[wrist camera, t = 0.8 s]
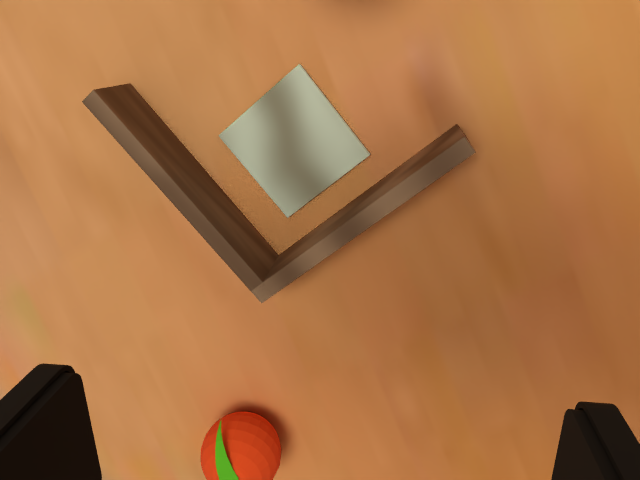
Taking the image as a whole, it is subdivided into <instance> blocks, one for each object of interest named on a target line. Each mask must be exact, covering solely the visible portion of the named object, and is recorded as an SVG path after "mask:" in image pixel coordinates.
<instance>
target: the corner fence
mask: <svg viewBox="0 0 640 480" xmlns="http://www.w3.org/2000/svg"><path fill="white" fill-rule="evenodd" d="M82 102H83V103H84V105H85V106H86V107H87V108H88V109H89V110H90V111H91V112H92V114H93V115H94V116H95V117H96V118H97V119H98V120H99V121H100V122H101V124H102V125H103V126H104V127H105V128H106V129H107V130H108V131H109V133H110V134H111V135H112V136H113V137H114V138H115V139H116V140H117V142H118V143H119V144H120V145H121V146H122V147H123V148H124V149H125V151H126V152H127V153H128V154H129V155H130V156H131V157H132V158H133V160H134V161H135V162H136V163H137V164H138V165H139V166H140V167H141V168H142V170H143V171H144V172H145V173H146V174H147V175H148V176H149V177H150V179H151V180H152V181H153V182H154V183H155V184H156V185H157V186H158V188H159V189H160V190H161V191H162V192H163V193H164V194H165V195H166V197H167V198H168V199H169V200H170V201H171V202H172V203H173V204H174V206H175V207H176V208H177V209H178V210H179V211H180V212H181V213H182V214H183V216H184V217H185V218H186V219H187V220H188V221H189V222H190V223H191V225H192V226H193V227H194V228H195V229H196V230H197V231H198V232H199V234H200V235H201V236H202V237H203V238H204V239H205V240H206V241H207V243H208V244H209V245H210V246H211V247H212V248H213V249H214V250H215V252H216V253H217V254H218V255H219V256H220V257H221V258H222V259H223V260H224V262H225V263H226V264H227V265H228V266H229V267H230V268H231V269H232V271H233V272H234V273H235V274H236V275H237V276H238V277H239V278H240V280H241V281H242V282H243V283H244V284H245V285H246V286H247V287H248V289H249V290H250V291H251V292H252V293H253V294H254V295H255V296H256V298H257V299H258V300H259V301H260V302H261V303H263V302H264V301H266V300H267V299H269V298H270V297H271V296H273V295H274V294H276V293H277V292H278V291H280V290H281V289H283V288H284V287H286V286H287V285H288V284H290V283H291V282H293V281H294V280H295V279H297V278H298V277H300V276H301V275H303V274H304V273H305V272H307V271H308V270H310V269H311V268H312V267H314V266H315V265H317V264H318V263H320V262H321V261H322V260H324V259H325V258H327V257H328V256H329V255H331V254H332V253H334V252H335V251H337V250H338V249H339V248H341V247H342V246H344V245H345V244H346V243H348V242H349V241H351V240H352V239H354V238H355V237H356V236H358V235H359V234H361V233H362V232H363V231H365V230H366V229H368V228H369V227H371V226H372V225H373V224H375V223H376V222H378V221H379V220H380V219H382V218H383V217H385V216H386V215H388V214H389V213H390V212H392V211H393V210H395V209H396V208H398V207H399V206H400V205H402V204H403V203H405V202H406V201H407V200H409V199H410V198H412V197H413V196H415V195H416V194H417V193H419V192H420V191H422V190H423V189H424V188H426V187H427V186H429V185H430V184H432V183H433V182H434V181H436V180H437V179H439V178H440V177H441V176H443V175H444V174H446V173H447V172H449V171H450V170H451V169H453V168H454V167H456V166H457V165H458V164H460V163H461V162H463V161H464V160H466V159H467V158H468V157H470V156H471V155H473V154H474V153H475V150H474V149H473V147H472V145H471V144H470V142H469V140H468V139H467V137H466V136H465V134H464V133H463V132H462V130H461V129H460V128H459V126H458V125H457V124H456V125H455V126H453V127H452V128H451V129H449V130H448V131H447V132H445V133H444V134H443V135H441V136H440V137H439V138H437V139H436V140H434V141H433V142H432V143H430V144H429V145H428V146H426V147H425V148H424V149H422V150H421V151H420V152H418V153H417V154H415V155H414V156H413V157H411V158H410V159H409V160H407V161H406V162H405V163H403V164H402V165H401V166H399V167H398V168H396V169H395V170H394V171H392V172H391V173H390V174H388V175H387V176H386V177H384V178H383V179H382V180H380V181H379V182H377V183H376V184H375V185H373V186H372V187H371V188H369V189H368V190H367V191H365V192H364V193H363V194H361V195H360V196H358V197H357V198H356V199H354V200H353V201H352V202H350V203H349V204H348V205H346V206H345V207H344V208H342V209H341V210H339V211H338V212H337V213H335V214H334V215H333V216H331V217H330V218H329V219H327V220H326V221H325V222H323V223H322V224H320V225H319V226H318V227H316V228H315V229H314V230H312V231H311V232H310V233H308V234H307V235H306V236H304V237H303V238H302V239H300V240H299V241H297V242H296V243H295V244H293V245H292V246H291V247H289V248H288V249H287V250H285V251H284V252H283V253H281V254H280V255H278V254H277V253H276V252H275V251H274V250H273V249H272V247H271V246H270V245H269V244H268V243H267V242H266V240H265V239H264V238H263V237H262V236H261V235H260V233H259V232H258V231H257V230H256V229H255V228H254V226H253V225H252V224H251V223H250V222H249V221H248V220H247V218H246V217H245V216H244V215H243V214H242V213H241V211H240V210H239V209H238V208H237V207H236V206H235V204H234V203H233V202H232V201H231V200H230V199H229V198H228V196H227V195H226V194H225V193H224V192H223V191H222V189H221V188H220V187H219V186H218V185H217V184H216V182H215V181H214V180H213V179H212V178H211V177H210V175H209V174H208V173H207V172H206V171H205V170H204V169H203V167H202V166H201V165H200V164H199V163H198V162H197V160H196V159H195V158H194V157H193V156H192V155H191V153H190V152H189V151H188V150H187V149H186V148H185V146H184V145H183V144H182V143H181V142H180V141H179V140H178V138H177V137H176V136H175V135H174V134H173V133H172V131H171V130H170V129H169V128H168V127H167V126H166V124H165V123H164V122H163V121H162V120H161V119H160V118H159V116H158V115H157V114H156V113H155V112H154V111H153V109H152V108H151V107H150V106H149V105H148V104H147V102H146V101H145V100H144V99H143V98H142V97H141V95H140V94H139V93H138V92H137V91H136V90H135V89H134V87H133V86H132V85H131V84H125V85H119V86H113V87H107V88H101V89H96V90H93V91H92V92H91V93H90V94H89V95H88V96H87V97H86V98H85V99H84V100H83V101H82ZM219 137H220V138H221V139H222V141H223V142H224V143H225V144H226V145H227V146H228V148H229V149H230V150H231V151H232V152H233V154H234V155H235V156H236V157H237V158H238V160H239V161H240V162H241V163H242V164H243V165H244V167H245V168H246V169H247V170H248V171H249V173H250V174H251V175H252V176H253V177H254V179H255V180H256V181H257V182H258V183H259V184H260V186H261V187H262V188H263V189H264V190H265V192H266V193H267V194H268V195H269V196H270V198H271V199H272V200H273V201H274V202H275V203H276V205H277V206H278V207H279V208H280V209H281V211H282V212H283V213H284V214H285V215H286V216H287V218H288V217H289V216H291V215H292V214H293V213H295V212H296V211H297V210H299V209H300V208H301V207H302V206H304V205H305V204H306V203H308V202H309V201H310V200H312V199H313V198H314V197H316V196H317V195H318V194H319V193H321V192H322V191H323V190H325V189H326V188H327V187H329V186H330V185H331V184H333V183H334V182H335V181H337V180H338V179H339V178H340V177H342V176H343V175H344V174H346V173H347V172H348V171H350V170H351V169H352V168H354V167H355V166H356V165H357V164H359V163H360V162H361V161H363V160H364V159H365V158H367V157H368V156H369V155H370V153H369V151H368V150H367V149H366V148H365V146H364V145H363V144H362V143H361V141H360V140H359V139H358V137H357V136H356V135H355V134H354V132H353V131H352V130H351V128H350V127H349V126H348V125H347V123H346V122H345V121H344V119H343V118H342V117H341V116H340V114H339V113H338V112H337V110H336V109H335V108H334V107H333V105H332V104H331V103H330V101H329V100H328V99H327V98H326V96H325V95H324V94H323V92H322V91H321V90H320V89H319V87H318V86H317V85H316V84H315V82H314V81H313V80H312V78H311V77H310V76H309V75H308V73H307V72H306V71H305V69H304V68H303V67H302V66H301V64H299V65H297V66H296V67H295V68H294V69H293V70H292V71H291V72H290V73H288V74H287V75H286V76H285V77H284V78H283V79H282V80H281V81H279V82H278V83H277V84H276V85H275V86H274V87H273V88H272V89H270V90H269V91H268V92H267V93H266V94H265V95H264V96H263V97H261V98H260V99H259V100H258V101H257V102H256V103H255V104H254V105H252V106H251V107H250V108H249V109H248V110H247V111H246V112H245V113H243V114H242V115H241V116H240V117H239V118H238V119H237V120H236V121H234V122H233V123H232V124H231V125H230V126H229V127H228V128H226V129H225V130H224V131H223V132H222V133H221V134H220V135H219Z"/></svg>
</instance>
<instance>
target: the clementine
mask: <svg viewBox="0 0 640 480" xmlns="http://www.w3.org/2000/svg"><path fill="white" fill-rule="evenodd" d="M280 457H281V446H280V441H279V437H278V434H277V432H276V430H275V429H274V427H273V426H272V425H271V424H270V423H269V422H268V421H267V420H266V419H265V418H263V417H262V416H260V415H258V414H255V413H252V412H235V413H231V414H228V415H226V416H225V417H223V418H221V419H220V420H218V421H217V422H216V423H215V424H214V425H213V426H212V427H211V428H210V430H209V431H208V433H207V434H206V436H205V439H204V441H203V445H202V448H201V466H202V470H203V473H204V475H205V477H206V479H207V480H273V478H274V476H275V474H276V472H277V469H278V467H279V465H280Z"/></svg>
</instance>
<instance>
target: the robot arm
mask: <svg viewBox="0 0 640 480" xmlns="http://www.w3.org/2000/svg"><path fill="white" fill-rule="evenodd" d="M0 480H102V475H101V469H100V464H99V460H98V455H97V450H96V445H95V440H94V435H93V431H92V426H91V421H90V416H89V411H88V406H87V402H86V397H85V392H84V387H83V382H82V379H81V376H80V375H79V374H77V373H75V371H74V369H73V368H72V367H71V366H68V365H56V364H39V365H38V366H36V367H35V368H34V369H33V370H32V371H31V372H30V373H29V374H27V375H26V376H25V377H24V378H23V379H22V380H21V381H20V382H19V383H18V384H17V385H16V386H15V387H14V388H13V389H12V390H11V391H9V392H8V393H7V394H6V395H5V396H4V397H3V398H2V399H1V400H0ZM551 480H640V444H639V442H638V441H637V439H636V437H635V436H634V434H633V433H632V431H631V429H630V428H629V426H628V424H627V423H626V421H625V419H624V418H623V416H622V414H621V413H620V411H619V409H618V408H617V407H616V406H615V405H613V404H607V403H593V402H578V404H577V405H576V407H575V409H568V410H567V411H566V412H565V415H564V420H563V425H562V430H561V435H560V440H559V445H558V450H557V455H556V460H555V465H554V470H553V474H552V479H551Z"/></svg>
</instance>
